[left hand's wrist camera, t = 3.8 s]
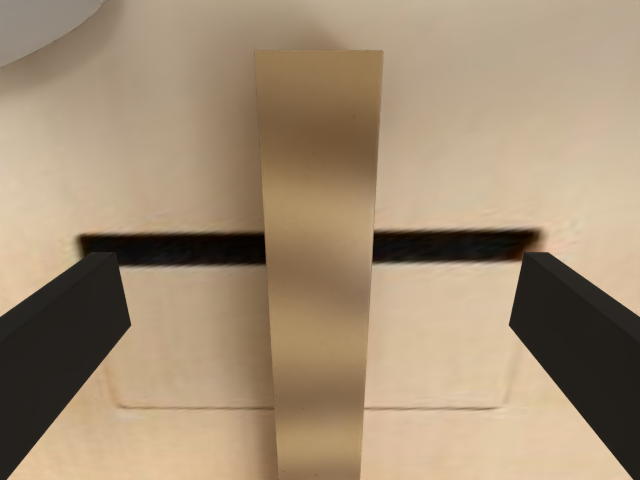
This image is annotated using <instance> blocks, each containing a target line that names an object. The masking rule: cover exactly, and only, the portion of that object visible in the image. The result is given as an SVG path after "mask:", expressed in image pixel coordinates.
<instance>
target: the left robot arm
mask: <svg viewBox="0 0 640 480" xmlns="http://www.w3.org/2000/svg"><path fill="white" fill-rule="evenodd" d="M130 326H131V322H130V317H129V313H128V308H127V303H126V299H125V294H124V289H123V285H122V280H121V275H120V270H119V266H118V261H117V256H116V252H92V253H90V254H89V255H87V256H86V257H85V258H83V259H82V260H80V261H79V262H77V263H76V264H75V265H73V266H72V267H70V268H69V269H68V270H66V271H65V272H63V273H62V274H60V275H59V276H58V277H56V278H55V279H53V280H52V281H51V282H49V283H48V284H46V285H45V286H43V287H42V288H41V289H39V290H38V291H36V292H35V293H34V294H32V295H31V296H29V297H28V298H26V299H25V300H24V301H22V302H21V303H19V304H18V305H17V306H15V307H14V308H12V309H11V310H9V311H8V312H7V313H5V314H4V315H2V316H1V317H0V480H7V479H8V477H9V476H10V475H11V474H12V472H13V471H14V470H15V469H16V468H17V466H18V465H19V464H20V463H21V461H22V460H23V459H24V458H25V456H26V455H27V454H28V453H29V451H30V450H31V449H32V448H33V446H34V445H35V444H36V443H37V441H38V440H39V439H40V438H41V437H42V435H43V434H44V433H45V432H46V430H47V429H48V428H49V427H50V425H51V424H52V423H53V422H54V420H55V419H56V418H57V417H58V415H59V414H60V413H61V412H62V410H63V409H64V408H65V407H66V406H67V404H68V403H69V402H70V401H71V399H72V398H73V397H74V396H75V394H76V393H77V392H78V391H79V389H80V388H81V387H82V386H83V384H84V383H85V382H86V381H87V379H88V378H89V377H90V376H91V375H92V373H93V372H94V371H95V370H96V368H97V367H98V366H99V365H100V363H101V362H102V361H103V360H104V358H105V357H106V356H107V355H108V353H109V352H110V351H111V350H112V348H113V347H114V346H115V345H116V344H117V342H118V341H119V340H120V339H121V337H122V336H123V335H124V334H125V332H126V331H127V330H128V329H129V327H130ZM509 326H510V327H511V329H512V330H513V331H514V332H515V334H516V335H517V336H518V337H519V339H520V340H521V341H522V342H523V344H524V345H525V346H526V347H527V348H528V350H529V351H530V352H531V353H532V355H533V356H534V357H535V358H536V360H537V361H538V362H539V363H540V365H541V366H542V367H543V368H544V370H545V371H546V372H547V373H548V375H549V376H550V377H551V378H552V379H553V381H554V382H555V383H556V384H557V386H558V387H559V388H560V389H561V391H562V392H563V393H564V394H565V396H566V397H567V398H568V399H569V401H570V402H571V403H572V404H573V406H574V407H575V408H576V409H577V410H578V412H579V413H580V414H581V415H582V417H583V418H584V419H585V420H586V422H587V423H588V424H589V425H590V427H591V428H592V429H593V430H594V432H595V433H596V434H597V435H598V437H599V438H600V439H601V440H602V441H603V443H604V444H605V445H606V446H607V448H608V449H609V450H610V451H611V453H612V454H613V455H614V456H615V458H616V459H617V460H618V461H619V463H620V464H621V465H622V466H623V468H624V469H625V470H626V471H627V472H628V474H629V475H630V476H631V477H632V479H633V480H640V317H639V316H638V315H636V314H635V313H633V312H632V311H631V310H629V309H628V308H626V307H625V306H623V305H622V304H621V303H619V302H618V301H616V300H615V299H614V298H612V297H611V296H609V295H608V294H606V293H605V292H604V291H602V290H601V289H599V288H598V287H597V286H595V285H594V284H592V283H591V282H589V281H588V280H587V279H585V278H584V277H582V276H581V275H580V274H578V273H577V272H575V271H574V270H572V269H571V268H570V267H568V266H567V265H565V264H564V263H563V262H561V261H560V260H558V259H557V258H555V257H554V256H553V255H551V254H550V253H548V252H524V256H523V261H522V266H521V270H520V275H519V280H518V284H517V289H516V294H515V299H514V303H513V308H512V313H511V317H510V322H509Z"/></svg>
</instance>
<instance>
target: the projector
mask: <svg viewBox="0 0 640 480" xmlns="http://www.w3.org/2000/svg"><path fill="white" fill-rule="evenodd" d="M104 2H105V0H0V68H1V67H3V66H5V65H8V64H10V63H12V62H14V61H16V60H18V59H21V58H23V57H25V56H27V55H29V54H31V53H33V52H35V51H37V50H39V49H41V48H43V47H44V46H46V45H48V44H50V43H52V42H53V41H55V40H57V39H59V38H60V37H62V36H64V35H66V34H67V33H69V32H70V31H72V30H73V29H75V28H76V27H78V26H79V25H80V24H82V23H83V22H85V21H86V20H87V19H88V18H89V17H90V16H92V15H93V14H94V13H95V12H96V11H97V10H98V9H99V8H100V6H101V5H102V4H103V3H104Z"/></svg>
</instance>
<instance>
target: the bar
mask: <svg viewBox="0 0 640 480" xmlns="http://www.w3.org/2000/svg"><path fill="white" fill-rule="evenodd" d="M254 55H255V73H256V90H257V108H258V125H259V143H260V161H261V178H262V196H263V214H264V231H265V249H266V267H267V284H268V302H269V320H270V337H271V355H272V373H273V390H274V408H275V426H276V443H277V461H278V479H279V480H360V470H361V452H362V434H363V415H364V397H365V379H366V361H367V342H368V324H369V306H370V288H371V269H372V251H373V233H374V214H375V196H376V178H377V160H378V141H379V123H380V105H381V87H382V68H383V51H382V50H256V51H255V52H254Z"/></svg>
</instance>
